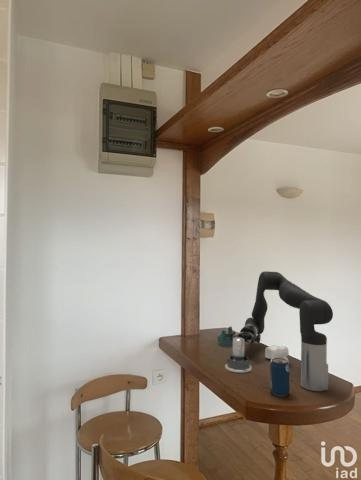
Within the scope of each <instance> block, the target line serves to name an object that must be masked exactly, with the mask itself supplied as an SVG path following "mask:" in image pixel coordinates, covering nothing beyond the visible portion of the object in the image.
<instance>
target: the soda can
mask: <svg viewBox="0 0 361 480" xmlns="http://www.w3.org/2000/svg"><path fill="white" fill-rule="evenodd" d="M288 361H289V360H288ZM288 361H287V360H286V359H282V358H274V359H272V362H271V361H270V365H269V373H270V374H269V390H270V392H271V394H273V395H274V396H276V397H286V396H288V394H289V393H290V383H291V382H290V380H291V379H290V374H291V373H290V372H291V370H290V368H291V367H290V364H289V363H288Z"/></svg>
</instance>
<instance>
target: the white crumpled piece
mask: <svg viewBox="0 0 361 480" xmlns="http://www.w3.org/2000/svg"><path fill="white" fill-rule="evenodd" d="M289 353H290V352H289V348H288V346H285V345H281V346H279V345H276V344H275V345H274V344H273V345H269V346H267V347H266V348H265V349H264V356H265V359H270V363H271V362H272V359H274V358H282V359H286V360H287V361H288V364H289V363H290V361H289V359H288V356H289Z"/></svg>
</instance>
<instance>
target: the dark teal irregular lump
mask: <svg viewBox="0 0 361 480" xmlns="http://www.w3.org/2000/svg"><path fill="white" fill-rule="evenodd" d="M227 328H228V329H227V330H225V329H222V330H221V333H219V335H218V336H217V342H218V345H219V346H221V347H224V348H233V342H232V340H231V339H230V333H232V332H233V327H232V326H229V327H227ZM227 331H228V332H227ZM226 332H227V333H226Z"/></svg>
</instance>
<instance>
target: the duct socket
mask: <svg viewBox="0 0 361 480" xmlns="http://www.w3.org/2000/svg"><path fill="white" fill-rule="evenodd" d="M252 368H253V367H252V365H251V364H250V357H249V356H246V355H244V361H234V360H233V354H231V355H227V363H225V365H224V369H225V370H226V371H227V372H229V373H235V374H247V373H250V372H251V371H252V370H253V369H252Z"/></svg>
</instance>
